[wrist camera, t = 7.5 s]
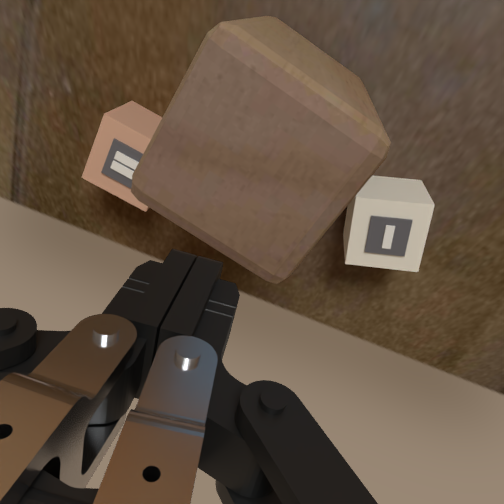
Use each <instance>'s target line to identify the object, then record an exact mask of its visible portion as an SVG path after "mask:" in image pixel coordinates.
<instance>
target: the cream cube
mask: <svg viewBox="0 0 504 504" xmlns="http://www.w3.org/2000/svg"><path fill="white" fill-rule="evenodd" d="M433 209H434V203H433V201H432V199H431V197H430V195H429V193H428V192H427V190H426V188H425V186H424V184H423V182H422V181H421V180H414V179H403V178H392V177H381V176H371V177H370V179H369V180H368V181H367V182H366V184H365V185H364V186H363V187H362V188H361V190H360V191H359V192H358V193H357V195H356V196H355V197H354V198H353V199H352V201H351V202H350V203H349V204H348V206H347V212H346V219H345V225H344V232H343V241H344V255H345V264H350V265H359V266H368V267H377V268H385V269H394V270H403V271H412V272H418V270H419V266H420V262H421V258H422V254H423V250H424V246H425V242H426V238H427V234H428V230H429V226H430V222H431V218H432V214H433Z"/></svg>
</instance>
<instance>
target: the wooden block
mask: <svg viewBox="0 0 504 504" xmlns="http://www.w3.org/2000/svg"><path fill="white" fill-rule="evenodd" d="M390 144H391V142H390V140H389V138H388V135H387V133H386V131H385V129H384V127H383V125H382V123H381V120H380V118H379V116H378V114H377V112H376V110H375V108H374V105H373V103H372V101H371V99H370V97H369V95H368V92H367V90H366V88H365V86H364V84H363V83H362V81H361V79H360V78H359V77H358V76H356V75H355V74H354V73H352V72H351V71H349V70H348V69H347V68H345V67H344V66H343V65H341V64H340V63H338V62H337V61H336V60H334V59H333V58H331V57H330V56H329V55H327V54H326V53H325V52H323V51H322V50H320V49H319V48H318V47H316V46H315V45H314V44H312V43H311V42H309V41H308V40H307V39H305V38H304V37H302V36H301V35H300V34H298V33H297V32H296V31H294V30H293V29H291V28H290V27H289V26H287V25H286V24H285V23H283V22H282V21H280V20H279V19H278V18H275V17H270V16H262V17H255V18H247V19H240V20H233V21H225V22H220V23H219V24H218V25H216V26H215V27H214V28H213V29H212V30H210V31H209V32H208V33H207V34H206V36H205V38H204V40H203V42H202V44H201V46H200V47H199V49H198V51H197V53H196V55H195V57H194V59H193V61H192V63H191V65H190V66H189V68H188V70H187V72H186V74H185V76H184V78H183V80H182V82H181V84H180V85H179V87H178V89H177V91H176V93H175V95H174V97H173V99H172V101H171V102H170V104H169V106H168V108H167V110H166V112H165V114H164V116H163V118H162V120H161V121H160V123H159V125H158V127H157V129H156V131H155V133H154V135H153V137H152V139H151V140H150V142H149V144H148V146H147V148H146V150H145V152H144V154H143V156H142V158H141V159H140V161H139V163H138V165H137V167H136V169H135V171H134V173H133V175H132V187H131V193H132V194H133V195H134V196H135V197H136V198H137V200H138V201H140V202H141V203H143V204H145V205H146V206H148V207H149V208H151V209H152V210H154V211H156V212H157V213H159V214H160V215H162V216H164V217H165V218H167V219H168V220H170V221H172V222H173V223H175V224H176V225H178V226H180V227H181V228H183V229H184V230H186V231H188V232H189V233H191V234H192V235H194V236H195V237H197V238H199V239H200V240H202V241H203V242H205V243H207V244H208V245H210V246H211V247H213V248H215V249H216V250H218V251H219V252H221V253H223V254H224V255H226V256H227V257H229V258H230V259H232V260H234V261H235V262H237V263H238V264H240V265H242V266H243V267H245V268H246V269H248V270H250V271H251V272H253V273H254V274H256V275H258V276H259V277H261V278H262V279H264V280H266V281H268V282H271V283H275V284H278V283H280V282H281V281H283V280H284V279H286V278H287V277H289V276H290V275H291V274H292V273H293V272H294V270H295V269H296V268H297V267H298V265H299V264H300V263H301V262H302V261H303V259H304V258H305V257H306V256H307V254H308V253H309V252H310V251H311V250H312V248H313V247H314V246H315V245H316V243H317V242H318V241H319V240H320V239H321V237H322V236H323V235H324V234H325V232H326V231H327V230H328V229H329V228H330V226H331V225H332V224H333V223H334V221H335V220H336V219H337V218H338V217H339V215H340V214H341V213H342V212H343V210H344V209H345V208H346V207H347V206H348V204H349V203H350V202H351V201H352V199H353V198H354V197H355V196H356V195H357V193H358V192H359V191H360V190H361V188H362V187H363V186H364V185H365V184H366V182H367V181H368V180H369V179H370V177H371V176H372V175H373V174H374V173H375V171H376V170H377V169H378V168H379V166H380V165H381V164H382V163H383V162H384V160H385V159H386V157H387V154H388V151H389V147H390Z"/></svg>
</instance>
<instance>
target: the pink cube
mask: <svg viewBox="0 0 504 504" xmlns="http://www.w3.org/2000/svg"><path fill="white" fill-rule="evenodd" d="M161 120H162V117H160V116H158V115H157V114H155V113H153V112H151V111H149V110H148V109H146V108H144V107H142V106H140V105H139V104H137V103H135V102H133V101H130V102H128V103H126V104H124V105H122V106H120V107H118V108H115V109H113V110H111V111H109V112H107V113H105V114H104V116H103V119H102V122H101V124H100V127H99V130H98V133H97V136H96V138H95V141H94V144H93V147H92V150H91V153H90V155H89V158H88V161H87V164H86V167H85V169H84V172H83V175H82V178H83V179H85V180H87V181H89V182H91V183H93V184H94V185H96V186H98V187H100V188H102V189H104V190H106V191H108V192H109V193H111V194H113V195H115V196H117V197H119V198H121V199H123V200H124V201H126V202H128V203H130V204H132V205H134V206H136V207H138V208H139V209H141V210H143V211H145V212H146V211H147V210H148V209H149V207H148V206H146V205H145V204H143V203H141V202H140V201H138V200H137V198H136V197H135V196H134V195H133V194H132V193H131V187H132V175H133V173H134V171H135V169H136V167H137V165H138V163H139V161H140V159H141V158H142V156H143V154H144V152H145V150H146V148H147V146H148V144H149V142H150V140H151V139H152V137H153V135H154V133H155V131H156V129H157V127H158V125H159V123H160V121H161Z"/></svg>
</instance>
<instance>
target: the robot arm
mask: <svg viewBox="0 0 504 504" xmlns="http://www.w3.org/2000/svg"><path fill="white" fill-rule="evenodd" d="M222 267H223V262H220V261H216V260H212V259H209V258H205V257H201V256H198V258H197V255H194V254H190V253H187V252H183V251H179V250H176V249H172V250H171V252H170V253H169V255H168V256H167V258H166V259H165V261H164V262H163V264H162V263H159V262H155V261H151V260H150V261H148V262H146V263H144V264H142V265H140V266H138V267H137V268H136V269H135V270H134V271H133V273H132V274H131V275H130V277H129V279H127V281H126V282H125V283H124V285H123V287H122V288H121V289H120V290H119V291H118V293H117V294H116V295H115V297H114V298H113V300H112V301H111V302H110V304H109V305H108V306H107V307H106V309H105V310H104V312H103V313H102V314H98V315H93V316H89V317H87V318H85V319H83V320H82V321H80V322H79V323H78V324H77V325H76V326H75V327H74V329H72V330H71V331H42V330H37V324H36V321H35V319H34V318H33V317H32V316H31V315H30V314H29V313H27V312H25V311H22V310H18V309H13V308H0V504H190V503H191V498H192V493H193V488H194V483H195V478H196V473H197V468H199V469H201V470H202V471H204V472H205V473H207V474H208V475H210V476H211V477H213V478H214V479H216V490H217V492H218V495H219V497H220V499H221V501H222V503H223V504H377V502H376V501H375V499H374V498H373V497H372V495H371V494H370V493H369V491H368V490H367V489H366V487H365V486H364V485H363V483H362V482H361V481H360V479H359V478H358V477H357V475H356V474H355V473H354V471H353V470H352V469H351V468H350V466H349V465H348V463H347V462H346V461H345V459H344V458H343V457H342V455H341V454H340V453H339V451H338V450H337V449H336V447H335V446H334V445H333V443H332V442H331V441H330V439H329V438H328V437H327V435H326V434H325V433H324V431H323V430H322V429H321V427H320V426H319V425H318V423H317V422H316V421H315V419H314V418H313V417H312V415H311V414H310V413H309V411H308V410H307V409H306V407H305V406H304V405H303V403H302V402H301V401H300V399H299V398H298V397H297V396H296V394H295V393H294V392H293V391H291V390H290V389H289V388H287V387H286V386H284V385H282V384H279V383H277V382H273V381H265V380H263V381H256V382H253V383H251V384H249V385H245V384H243V383H241V382H239V381H238V380H237V379H235V378H234V377H233V376H231V375H230V374H229V373H228V371H227V370H226V369H225V367H224V365H223V363H222V358H223V354H224V351H225V348H226V345H227V341H228V338H229V334H230V331H231V327H232V323H233V319H234V315H235V311H236V308H237V304H238V300H239V296H240V295H239V292H238V289H237V286H236V283H232V282H228V281H225V280H221V279H220V276H221V272H222ZM134 398H138V399H139V400H138V403H137V405H136V408H135V410H132V409H131V410H130V412H129V414H128V416H127V418H126V412H127V410H128V409H129V407H130V405H131V403H132V401H133V399H134ZM125 418H126V421H125ZM124 421H125V423H124ZM123 424H124V426H123ZM122 426H123V428H122V431H121V433H120V436H119V438H118V441H117V444H116V446H115V449H114V451H113V454H112V456H111V459H110V461H109V464H108V466H107V469H106V472H105V475H104V477H103V480H102V482H101V484H100V487H99V489H90V488H85V487H86V485H87V484H88V482H89V480H90V479H91V477H92V475H93V474H94V472H95V470H96V469H97V467H98V465H99V464H100V462H101V460H102V459H103V457H104V455H105V454H106V452H107V450H108V449H109V447H110V446H111V444H112V442H113V441H114V439H115V437H116V436H117V434H118V432H119V431H120V429H121V427H122Z"/></svg>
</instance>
